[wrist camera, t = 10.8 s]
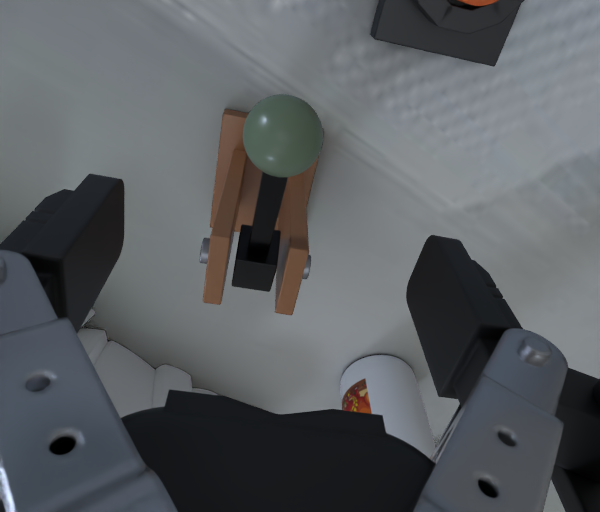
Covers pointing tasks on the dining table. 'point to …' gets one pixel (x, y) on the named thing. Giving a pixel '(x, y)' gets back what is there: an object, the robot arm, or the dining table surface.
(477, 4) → the power button
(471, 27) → the button base
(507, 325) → the robot arm
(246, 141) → the switch lever
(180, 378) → the white letter sign
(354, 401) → the milk bottle
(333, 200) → the dining table surface
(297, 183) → the switch bracket
